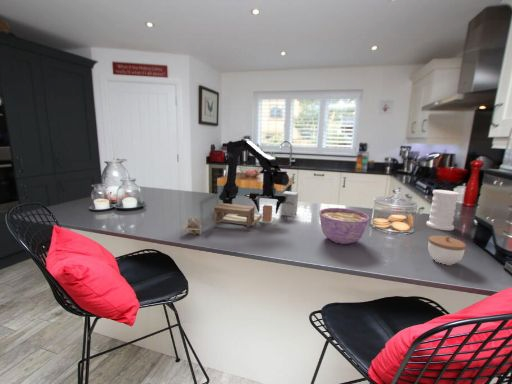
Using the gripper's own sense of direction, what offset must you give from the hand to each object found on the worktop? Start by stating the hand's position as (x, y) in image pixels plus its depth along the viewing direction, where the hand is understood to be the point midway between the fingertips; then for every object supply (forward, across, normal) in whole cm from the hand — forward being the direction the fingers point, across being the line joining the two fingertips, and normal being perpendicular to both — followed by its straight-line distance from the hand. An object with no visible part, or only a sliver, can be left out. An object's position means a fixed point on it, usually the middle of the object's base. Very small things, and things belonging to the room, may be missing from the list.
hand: (267, 212), depth 134 cm
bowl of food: (+4, -36, +15) cm, 39 cm away
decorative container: (+4, -85, -22) cm, 88 cm away
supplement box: (+4, -9, -15) cm, 18 cm away
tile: (+4, 0, 0) cm, 4 cm away
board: (+4, +13, +2) cm, 14 cm away
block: (+4, 0, 0) cm, 4 cm away
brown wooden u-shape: (+2, +13, +13) cm, 19 cm away
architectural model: (+5, +26, +30) cm, 39 cm away
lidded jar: (+4, -71, +23) cm, 75 cm away
